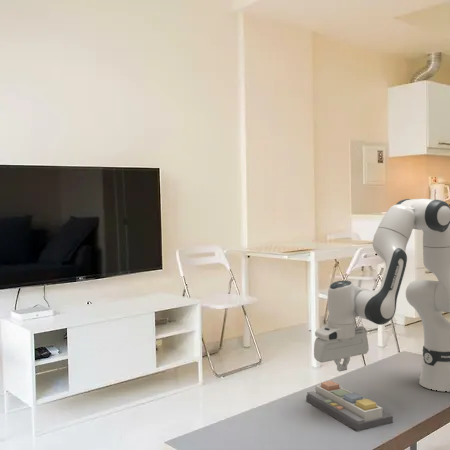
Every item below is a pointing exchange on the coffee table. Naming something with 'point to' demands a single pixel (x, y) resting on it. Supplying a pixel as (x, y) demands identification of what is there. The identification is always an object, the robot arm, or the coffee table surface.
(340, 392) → the key sage
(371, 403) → the key ochre
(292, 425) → the coffee table surface
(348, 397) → the key slate
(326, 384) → the key terracotta
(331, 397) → the coloured button panel
